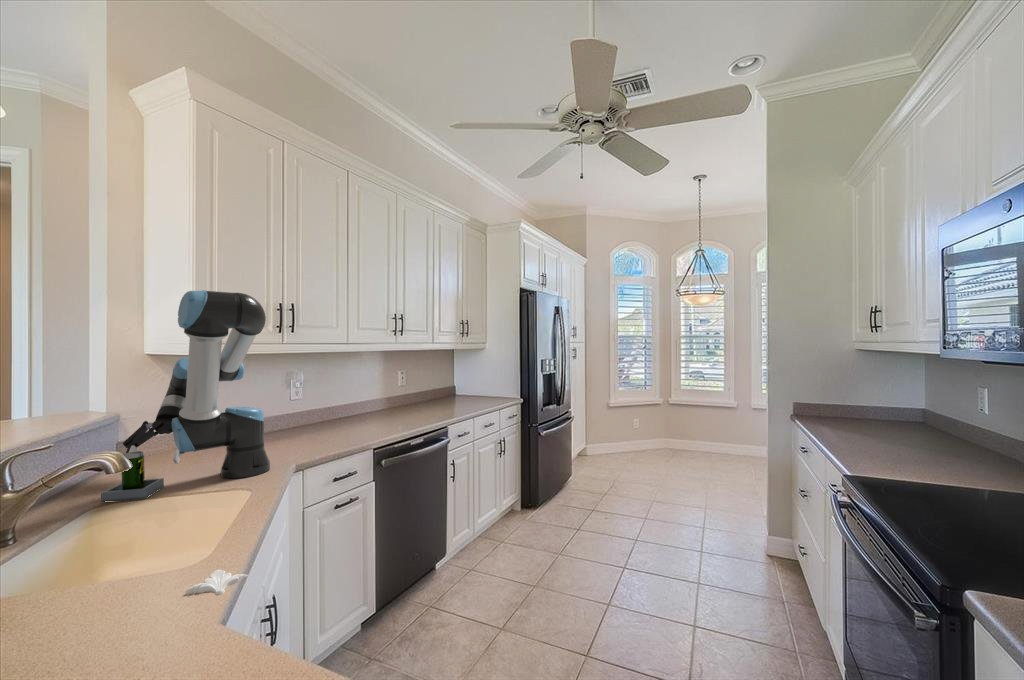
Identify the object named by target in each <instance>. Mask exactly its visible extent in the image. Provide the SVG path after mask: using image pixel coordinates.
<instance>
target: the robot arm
mask: <svg viewBox="0 0 1024 680" xmlns="http://www.w3.org/2000/svg"><path fill="white" fill-rule="evenodd" d="M177 316H178V318H177V323H178V327H179V328H181V329H183V333H184V334H185V335H186V336H187V337H188V338H189V341H188V342H189V344H188V356H187V357H181V358H180V359H178V360H177V361H176V363H175V364H174V367H173V369H172V375H171V378H170V380H169V385H168V387H167V391H166V393H165V396H164V398H163V400H162V402H161V404H160V407H159V409H158V412H157V414H156V416H155V420H154V421H153V422H148V421H147V420H144V421H143V422H142V424H141V426H140V427H139V428H138V429H136V430H135V431H134V432H133V433H132V434H131V435H130V436H129V437H128V438H126V439H125V440H124V441H123V442H122V445H123V446H124V448H125V449H126V451H125V453H129V452H136V451H138V449H137V448H138V447H139V446H141V445H143V444H145V443H146V442H148V440H150V439H152V438H153V437H157V436H158V435H170V434H172V437H173V440H174V443H175V446H176V447H175V448H176V450H175V452H174V456H173V458H172V461H173V462H174V463H175V465H176V464H179V462H180V460H181V457H182V455H183V454H185V453H189V452H194V453H195V452H197V451H198V452H200V451H205V450H211V449H216V448H222V447H226V448H225V449H226V453H225V456H224V459H223V461H222V465H221V468H220V476H221V478H225V479H240V478H248V477H249V478H250V477H253V476H259V475H261V474H264V473H267V472H268V471H269V470H271V462H270V460H269V457H268V454H267V451H266V449H265V416H264V411H263V410H262V409H261V408H259V407H250V406H228V407H226V408H225V410H224V412H222V409H221V407H219V406H218V397H219V395H218V394H219V383H220V382H233V381H239V380H242V379H243V378H244V374H245V366H244V364H243V361H244V360H245V358H246V356H247V353H248V352H249V349H250V347H251V346H252V344H253V342H254V340H255V338H256V336H257V335H260V334H261V332H262V331H263V329H264V328H265V325H266V321H267V320H266V313H265V310H264V308H263V306H262V304H261V303H260V302H259V301H258V300H257V299H255V298H254V297H253V296H251V295H249V294H247V293H242V292H229V291H227V292H225V291H216V290H215V291H214V290H213V291H212V290H203V289H202V290H189V291H186V292H185V293H184V294H183V295H182V297H181V299H180V301H179V306H178V310H177ZM229 329H231V330H230V333H229ZM226 337H227V339H226V341H225V344H224V346H222V345H223V343H222V342H223V340H224V338H226ZM222 347H223V348H222Z"/></svg>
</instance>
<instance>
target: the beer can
mask: <svg viewBox="0 0 1024 680" xmlns="http://www.w3.org/2000/svg"><path fill="white" fill-rule="evenodd" d="M123 455H124V456H125V457H126V458H127V459H129V460H130V461H131V462H132V464H133V467H132V468H131V469H129V470H128V471H124V472H122V471H121V482H122V490H131V489H143V488H144V487H145V480H146V479H145V475H146V474H145V473H146V472H145V454H144V451H139V450H137V451H136V452H129V453H126V452H125V453H123Z"/></svg>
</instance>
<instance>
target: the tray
mask: <svg viewBox="0 0 1024 680" xmlns="http://www.w3.org/2000/svg"><path fill="white" fill-rule="evenodd" d="M164 479H165V478H164V477H163V478H152V479H151V478H150V479H145V487H144V488H143V489H131V490H122V481H121V482H120V483H118V484H116V485H114V486H111V487H110V488H108V489H105V490H104V491H102V492H100V503H101V502H105V501H120V502H129V501H139V500H140V501H141V500H146V499H148V498H149V497H150V496H149V495H151V494H153V493H154V492H156V491H157V490H159V489H161V488H162V487H164V488H165V480H164ZM162 489H163V488H162ZM162 489H161V490H162ZM159 491H160V490H159ZM157 492H158V491H157ZM157 492H156V493H157ZM154 494H155V493H154ZM154 494H153V495H154ZM148 496H149V497H148ZM151 496H152V495H151ZM147 497H148V498H147Z"/></svg>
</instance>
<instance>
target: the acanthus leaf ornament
mask: <svg viewBox="0 0 1024 680" xmlns="http://www.w3.org/2000/svg"><path fill="white" fill-rule="evenodd" d="M248 576H249V575H248V574H241V573H238V574H234V575H232V573H231V572H226V571H225V570H221V569H216V570H214V571H213V572H212V573H210V574H209V576H208V577H207V578H205V579H204V581H203V582H201V583H196V584H194V585H193V586H191V587H189V588H188V589H186V590H185V595H187V596H189V595H191V594H193V595H194V594H202V593H207V592H213V593H214V594H215V596H219V595H223V594H225V592H226V590H225V589H226V588H228V587H229V586H231V585H233V584H236V583H238V582H239V581H241V580H242V579H245V578H247V577H248Z"/></svg>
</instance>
